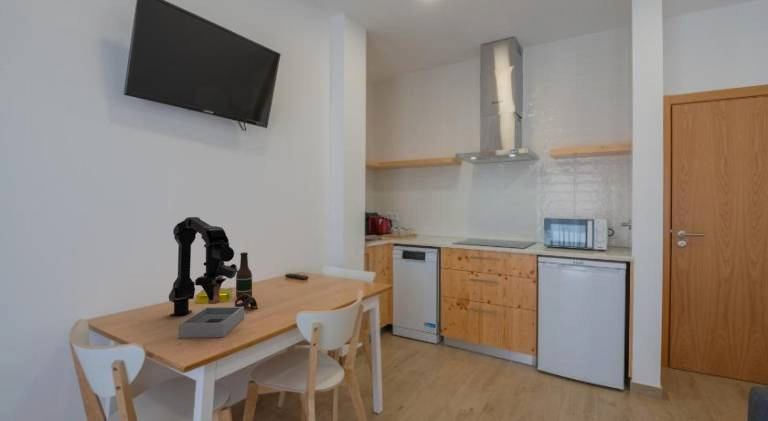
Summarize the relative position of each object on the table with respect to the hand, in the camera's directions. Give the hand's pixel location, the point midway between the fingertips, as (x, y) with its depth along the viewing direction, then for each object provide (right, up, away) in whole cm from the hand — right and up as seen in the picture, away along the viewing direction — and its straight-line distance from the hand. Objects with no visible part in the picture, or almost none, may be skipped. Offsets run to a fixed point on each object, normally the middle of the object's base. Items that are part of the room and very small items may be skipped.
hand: (213, 298), depth 140 cm
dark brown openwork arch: (+3, -11, +25) cm, 28 cm away
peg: (0, -2, 0) cm, 2 cm away
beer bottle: (-5, -11, +44) cm, 46 cm away
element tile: (-20, -12, +43) cm, 49 cm away
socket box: (0, -11, 0) cm, 11 cm away
